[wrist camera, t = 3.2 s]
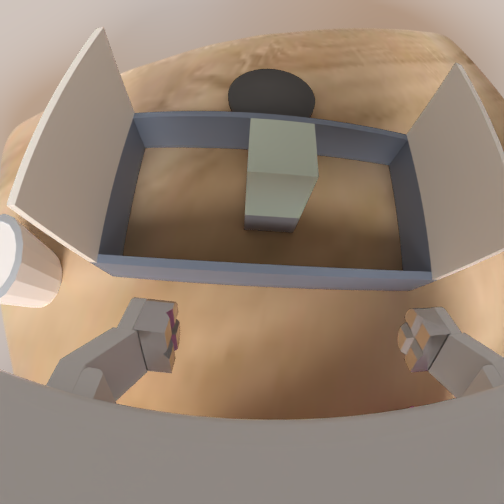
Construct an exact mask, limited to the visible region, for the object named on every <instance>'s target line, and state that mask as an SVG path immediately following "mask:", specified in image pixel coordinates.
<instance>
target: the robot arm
mask: <svg viewBox="0 0 504 504" xmlns="http://www.w3.org/2000/svg"><path fill="white" fill-rule="evenodd" d="M177 315H178V305H177V302H174V301H164V300H155V299H145V298H136V297H134V298H132V299H131V301H130V303H129V305H128V307H127V309H126V311H125V313H124V315H123V317H122V319H121V321H120V323H119V325H118V327H117V328H114V327H113V328H111V329H110V330H108V331H106V332H105V333H103V334H101V335H100V336H98V337H96V338H95V339H93V340H91V341H90V342H88V343H86V344H85V345H83V346H81V347H80V348H78V349H77V350H75V351H73V352H72V353H70V354H68V355H67V356H65V357H63V358H62V359H60V361H59V363H58V364H57V366H56V368H55V370H54V372H53V374H52V375H51V377H50V379H49V381H48V383H47V385H43V384H39V383H36V382H33V381H30V380H28V379H25V378H22V377H19V376H16V375H14V374H11V373H8V372H6V371H3V370H1V369H0V504H504V358H503V357H502V356H500V355H499V354H497V353H495V352H494V351H492V350H491V349H489V348H488V347H486V346H485V345H483V344H481V343H480V342H478V341H477V340H475V339H473V338H472V337H470V336H469V335H467V334H465V333H461V331H460V330H459V328H458V327H457V325H456V324H455V323H454V321H453V320H452V318H451V317H450V315H449V314H448V313H447V311H446V310H445V309H444V308H443V307H432V308H417V309H409V310H408V311H407V313H406V315H405V317H404V318H405V321H406V322H405V323H404V324H403V325H402V326H401V327H400V329H399V332H398V337H397V342H398V347H399V349H400V351H401V352H402V353H404V354H405V355H406V356H405V359H404V360H405V362H406V364H407V366H408V369H409V371H410V372H419V371H428V370H429V371H428V372H429V373H430V374H431V375H432V376H434V377H435V378H436V379H437V380H438V381H439V382H440V383H441V384H442V385H443V386H444V387H445V388H446V389H447V390H449V391H450V392H451V393H452V394H453V395H454V396H455V397H456V398H454V399H450V400H446V401H442V402H437V403H433V404H428V405H423V406H418V407H412V408H407V409H401V410H395V411H388V412H381V413H373V414H365V415H356V416H345V417H333V418H317V419H287V420H264V419H233V418H217V417H205V416H194V415H185V414H176V413H169V412H161V411H155V410H148V409H142V408H136V407H131V406H125V405H120V404H116V402H115V401H116V400H118V399H119V398H120V397H121V396H122V395H123V394H124V393H125V392H126V391H127V390H128V389H129V388H130V387H132V386H133V385H134V384H135V383H136V382H137V381H138V380H139V379H140V378H141V377H142V376H143V375H144V374H145V373H147V371H156V372H166V373H172V370H173V366H174V362H175V352H174V351H175V350H177V349H178V346H179V340H180V322H179V321H178V320H177V319H176V318H177Z"/></svg>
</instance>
